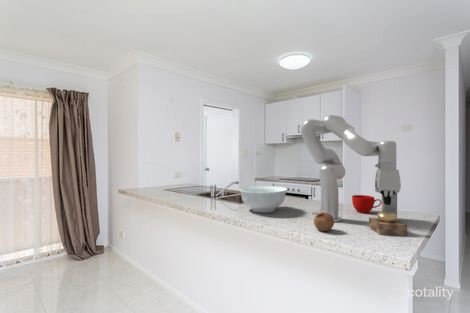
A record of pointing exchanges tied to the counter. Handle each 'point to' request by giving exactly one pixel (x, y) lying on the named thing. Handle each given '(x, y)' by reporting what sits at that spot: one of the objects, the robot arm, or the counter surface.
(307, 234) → the counter surface
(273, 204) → the bowl
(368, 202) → the ceramic cup
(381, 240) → the counter surface
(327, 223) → the onion
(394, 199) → the coffee box
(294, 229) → the counter surface
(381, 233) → the block
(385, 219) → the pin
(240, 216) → the counter surface
